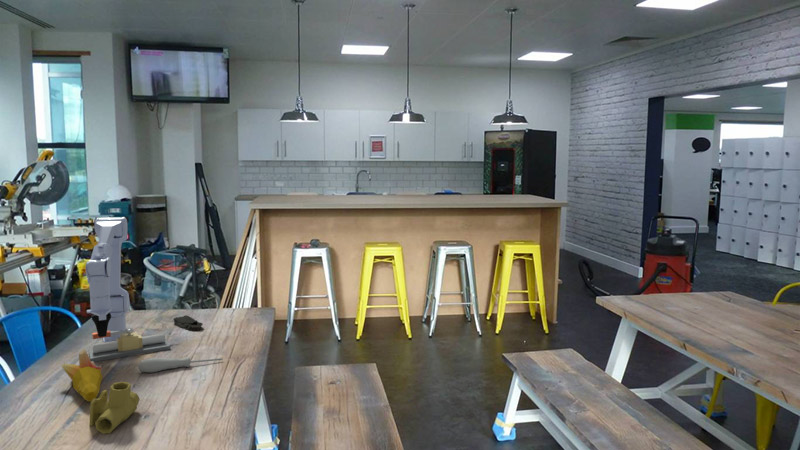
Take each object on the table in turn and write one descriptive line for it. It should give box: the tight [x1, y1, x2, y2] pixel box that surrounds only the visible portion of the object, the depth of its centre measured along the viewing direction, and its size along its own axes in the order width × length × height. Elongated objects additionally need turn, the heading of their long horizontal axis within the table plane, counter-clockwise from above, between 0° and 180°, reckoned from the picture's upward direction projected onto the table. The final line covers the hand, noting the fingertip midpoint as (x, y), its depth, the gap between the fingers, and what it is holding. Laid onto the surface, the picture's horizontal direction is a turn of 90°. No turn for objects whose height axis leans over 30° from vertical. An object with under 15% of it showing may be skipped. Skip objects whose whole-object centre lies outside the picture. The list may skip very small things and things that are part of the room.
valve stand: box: [88, 331, 171, 363], centre depth 186 cm, size 10×24×6 cm, turn 122°
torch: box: [60, 347, 104, 402], centre depth 154 cm, size 8×8×25 cm
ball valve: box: [89, 381, 140, 435], centre depth 136 cm, size 13×10×10 cm
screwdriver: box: [137, 356, 224, 374], centre depth 172 cm, size 5×25×4 cm, turn 114°
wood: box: [173, 314, 204, 332], centre depth 216 cm, size 22×8×3 cm, turn 41°
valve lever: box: [91, 327, 134, 340], centre depth 183 cm, size 12×3×2 cm, turn 123°
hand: (102, 336), depth 180 cm, fingers closed
